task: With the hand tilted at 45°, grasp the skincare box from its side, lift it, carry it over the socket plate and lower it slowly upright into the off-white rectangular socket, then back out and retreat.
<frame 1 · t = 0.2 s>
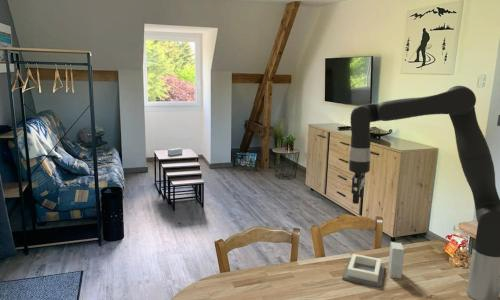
hand: (357, 200, 147), 29 cm above the table, tool pointing down, fingers open, 8 cm apart
skincare box: (394, 274, 149), on the table
socket plate: (364, 273, 150), on the table
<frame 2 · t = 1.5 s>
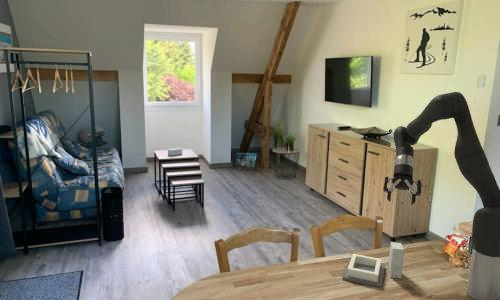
hand: (400, 202, 154), 26 cm above the table, tool tilted 45°, fingers open, 8 cm apart
nothing on the table moved.
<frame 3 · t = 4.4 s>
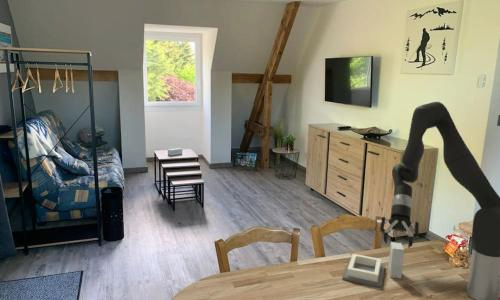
hand: (397, 244, 150), 11 cm above the table, tool tilted 45°, fingers open, 8 cm apart
nothing on the table moved.
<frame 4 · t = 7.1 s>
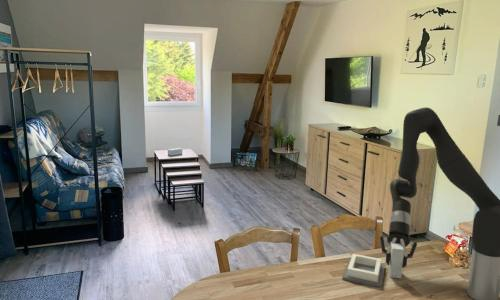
hand: (395, 265, 145), 5 cm above the table, tool tilted 45°, fingers closed on skincare box, 4 cm apart
skincare box: (394, 274, 149), on the table, touching gripper
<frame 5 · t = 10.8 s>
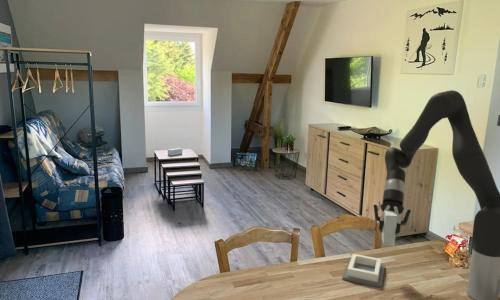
hand: (389, 232, 144), 18 cm above the table, tool tilted 45°, fingers closed on skincare box, 4 cm apart
skincare box: (387, 242, 147), point 13 cm above the table, touching gripper
when the fingers open (7 cm above the table, at t = 14.5 s): skincare box stays where it is, resting on socket plate.
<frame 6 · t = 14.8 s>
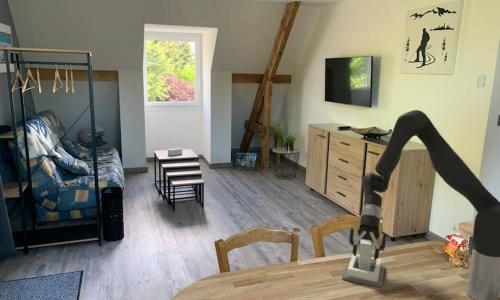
hand: (364, 257, 147), 7 cm above the table, tool tilted 45°, fingers open, 7 cm apart
skincare box: (364, 269, 151), point 1 cm above the table, touching socket plate
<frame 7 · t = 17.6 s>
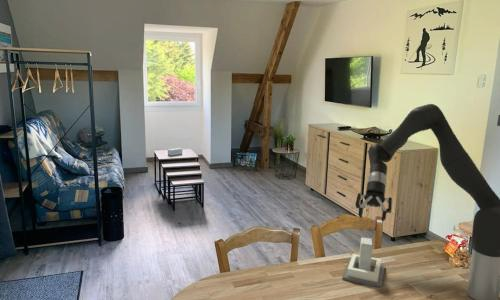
hand: (371, 219, 157), 18 cm above the table, tool tilted 45°, fingers open, 8 cm apart
nothing on the table moved.
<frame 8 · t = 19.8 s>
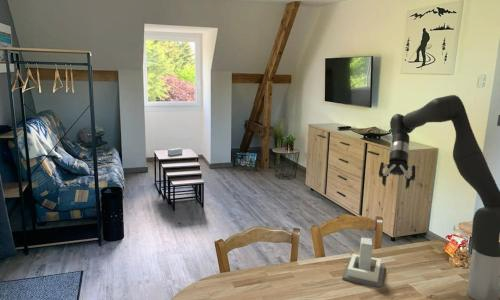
hand: (395, 186, 158), 31 cm above the table, tool tilted 45°, fingers open, 8 cm apart
nothing on the table moved.
at the end: skincare box 1.2 cm off-centre on the socket plate, point 0.8 cm above the socket plate's base; skincare box tilted 0°; the gripper is holding nothing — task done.
